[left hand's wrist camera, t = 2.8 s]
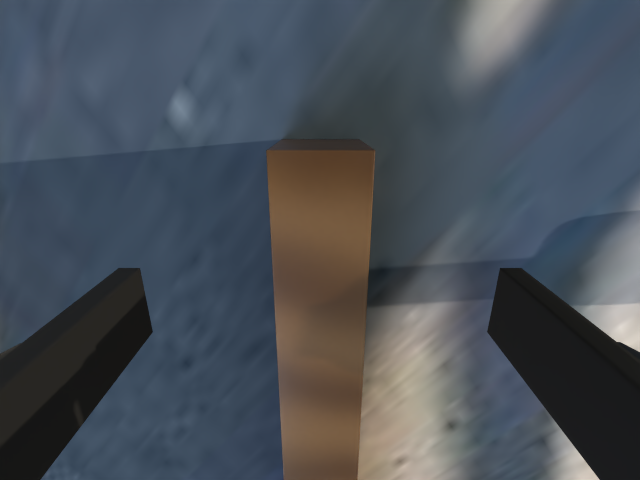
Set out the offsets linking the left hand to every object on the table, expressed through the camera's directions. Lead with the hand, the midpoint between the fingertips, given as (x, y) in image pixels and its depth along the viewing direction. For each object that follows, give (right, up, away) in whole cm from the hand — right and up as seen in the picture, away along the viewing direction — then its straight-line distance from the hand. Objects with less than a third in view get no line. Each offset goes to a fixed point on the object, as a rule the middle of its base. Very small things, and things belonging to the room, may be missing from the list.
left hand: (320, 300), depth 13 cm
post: (0, -26, +24) cm, 35 cm away
